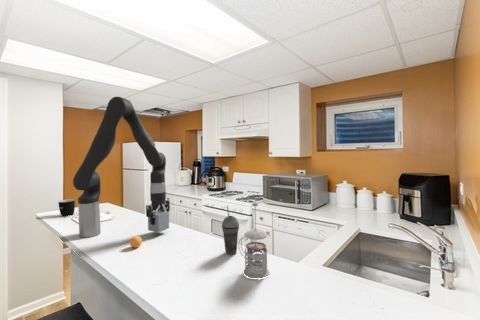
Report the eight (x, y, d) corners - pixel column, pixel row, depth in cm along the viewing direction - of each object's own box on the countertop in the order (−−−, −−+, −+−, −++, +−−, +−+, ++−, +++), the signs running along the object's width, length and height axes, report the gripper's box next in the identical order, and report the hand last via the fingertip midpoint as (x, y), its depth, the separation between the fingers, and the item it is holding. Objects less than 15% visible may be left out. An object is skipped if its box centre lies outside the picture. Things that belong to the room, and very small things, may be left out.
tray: (82, 227, 141) (82, 220, 141) (68, 220, 159) (68, 214, 159) (118, 218, 157) (118, 213, 156) (102, 213, 175) (101, 208, 175)
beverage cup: (237, 257, 97) (236, 208, 96) (220, 256, 98) (219, 207, 97) (241, 249, 104) (240, 204, 103) (224, 248, 105) (223, 203, 104)
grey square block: (148, 230, 124) (147, 213, 123) (158, 226, 130) (158, 210, 130) (158, 232, 120) (158, 215, 120) (169, 228, 127) (168, 211, 126)
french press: (262, 283, 78) (261, 207, 77) (232, 274, 84) (231, 203, 83) (274, 270, 86) (274, 201, 85) (246, 262, 92) (245, 197, 91)
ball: (127, 248, 108) (127, 237, 108) (136, 244, 112) (136, 233, 112) (135, 250, 106) (134, 239, 105) (144, 246, 110) (144, 235, 110)
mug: (57, 215, 164) (56, 201, 164) (72, 212, 172) (71, 198, 171) (64, 218, 157) (63, 203, 157) (79, 215, 165) (78, 200, 164)
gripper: (162, 188, 132) (163, 217, 133) (141, 192, 120) (142, 225, 121) (173, 189, 129) (173, 219, 130) (152, 194, 116) (153, 227, 117)
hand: (158, 222), depth 125 cm, fingers closed on grey square block, 7 cm apart
